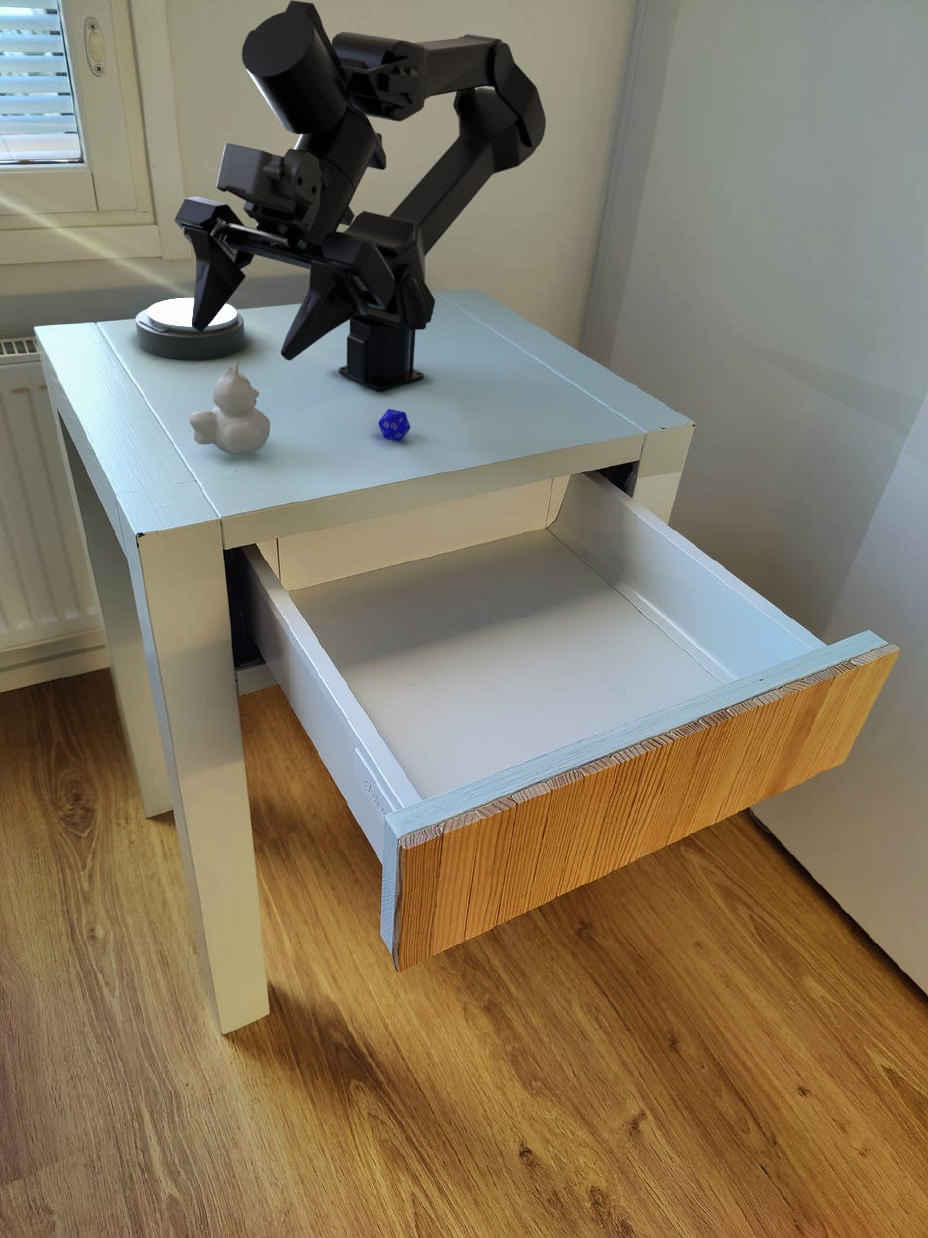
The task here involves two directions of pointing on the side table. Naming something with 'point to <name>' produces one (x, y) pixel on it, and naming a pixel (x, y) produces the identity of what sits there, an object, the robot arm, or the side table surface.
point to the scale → (188, 331)
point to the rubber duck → (232, 417)
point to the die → (394, 425)
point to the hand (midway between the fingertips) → (239, 343)
